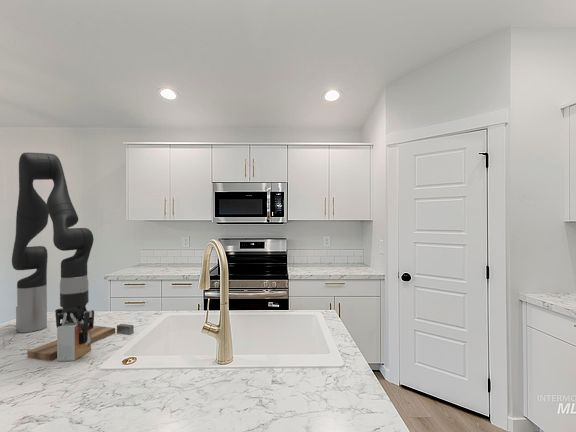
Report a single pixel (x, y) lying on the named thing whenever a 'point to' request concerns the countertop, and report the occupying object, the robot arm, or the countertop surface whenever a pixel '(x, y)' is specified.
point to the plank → (50, 349)
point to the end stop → (125, 329)
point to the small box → (71, 342)
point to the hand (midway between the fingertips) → (74, 342)
